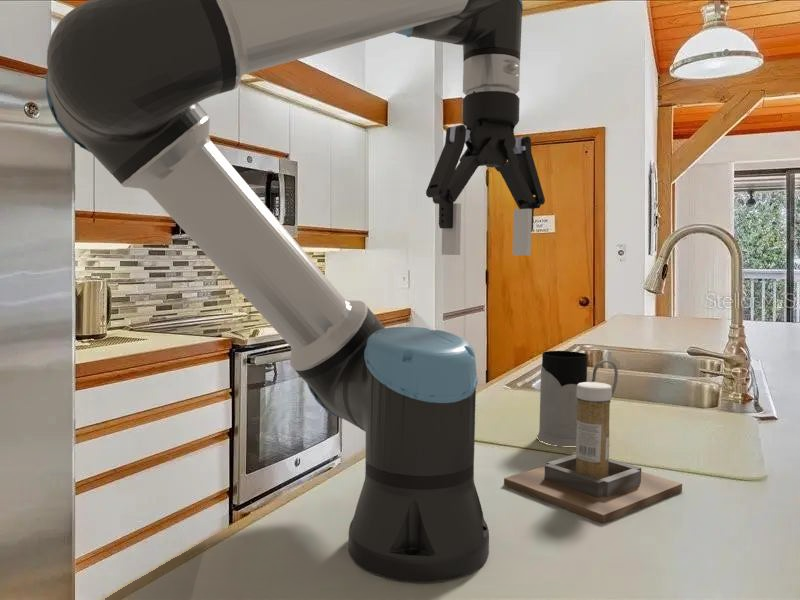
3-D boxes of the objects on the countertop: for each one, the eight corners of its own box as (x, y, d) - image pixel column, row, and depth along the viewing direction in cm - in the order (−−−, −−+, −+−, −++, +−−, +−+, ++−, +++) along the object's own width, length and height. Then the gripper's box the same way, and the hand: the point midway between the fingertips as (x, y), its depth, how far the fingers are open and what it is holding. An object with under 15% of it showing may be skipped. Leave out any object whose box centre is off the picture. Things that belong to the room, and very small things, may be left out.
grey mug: (528, 434, 117) (530, 350, 116) (602, 431, 119) (605, 349, 118) (548, 448, 108) (551, 358, 107) (628, 445, 111) (631, 356, 110)
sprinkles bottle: (615, 482, 89) (619, 385, 88) (593, 489, 87) (596, 388, 86) (589, 473, 93) (592, 379, 92) (567, 479, 91) (569, 382, 90)
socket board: (603, 523, 78) (604, 498, 78) (503, 485, 91) (504, 463, 91) (682, 490, 89) (682, 469, 89) (583, 460, 102) (584, 441, 102)
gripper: (439, 72, 77) (436, 254, 78) (572, 104, 92) (568, 255, 94) (399, 85, 83) (398, 254, 84) (531, 112, 98) (527, 255, 100)
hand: (487, 255), depth 89 cm, fingers open, 13 cm apart
